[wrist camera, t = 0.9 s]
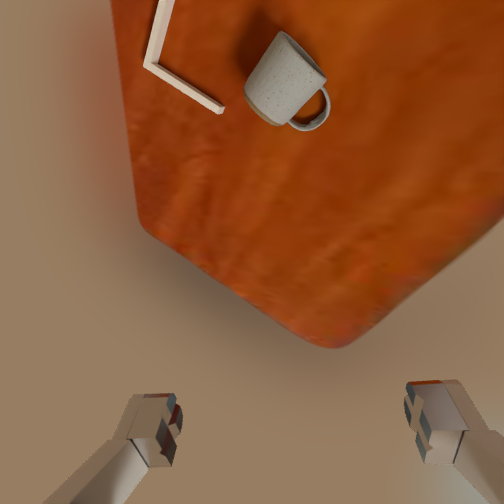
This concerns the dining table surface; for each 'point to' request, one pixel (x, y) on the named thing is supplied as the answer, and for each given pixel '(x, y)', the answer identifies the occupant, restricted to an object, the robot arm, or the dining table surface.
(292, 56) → the ceramic mug
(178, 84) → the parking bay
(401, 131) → the dining table surface
